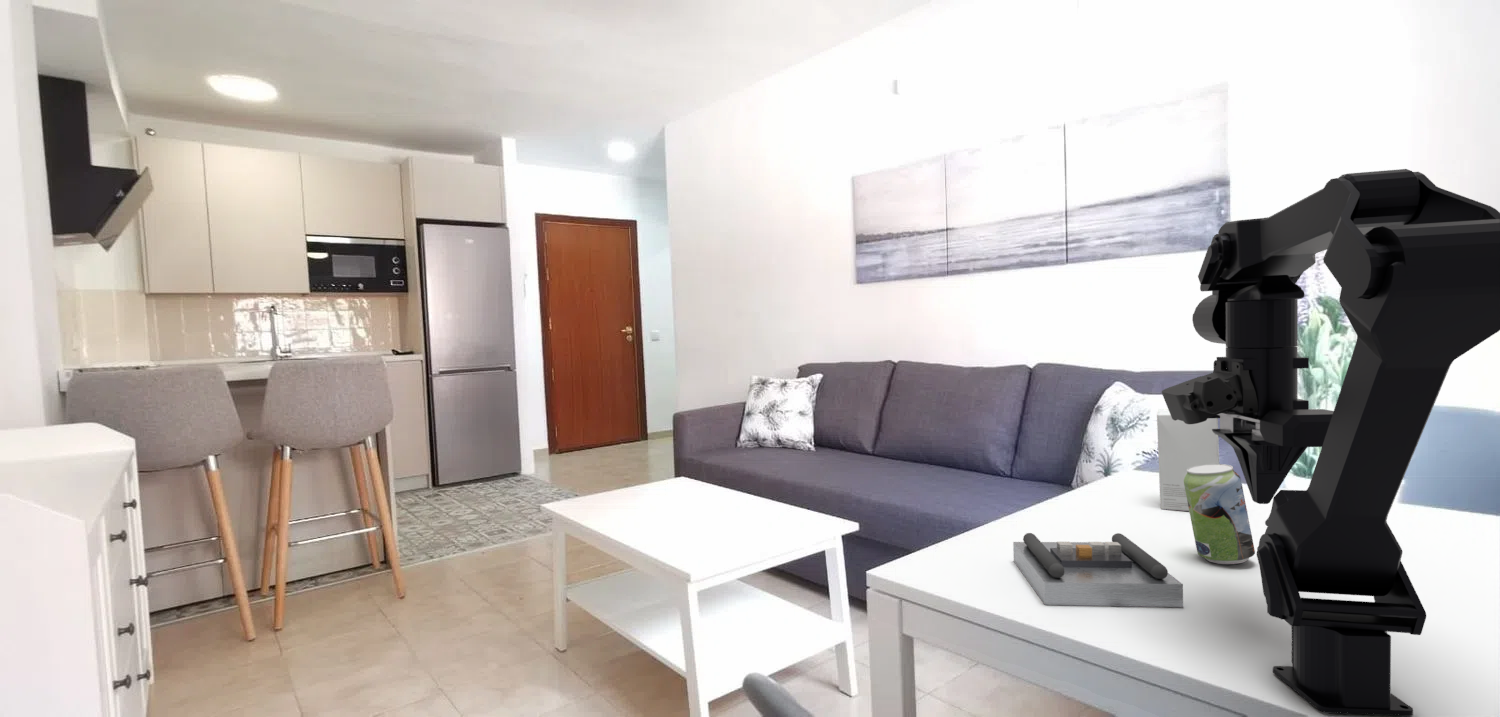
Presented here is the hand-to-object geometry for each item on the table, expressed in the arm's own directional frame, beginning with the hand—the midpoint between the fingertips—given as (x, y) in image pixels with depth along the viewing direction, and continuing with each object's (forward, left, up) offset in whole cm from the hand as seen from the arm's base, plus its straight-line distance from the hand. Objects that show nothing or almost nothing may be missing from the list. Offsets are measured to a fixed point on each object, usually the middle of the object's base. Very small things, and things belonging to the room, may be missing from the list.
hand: (1261, 502), depth 69 cm
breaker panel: (+10, +13, -12) cm, 20 cm away
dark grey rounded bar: (+10, +18, -10) cm, 23 cm away
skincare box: (+43, -13, -12) cm, 47 cm away
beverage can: (+18, -5, -12) cm, 22 cm away
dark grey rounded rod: (+10, +8, -10) cm, 16 cm away
